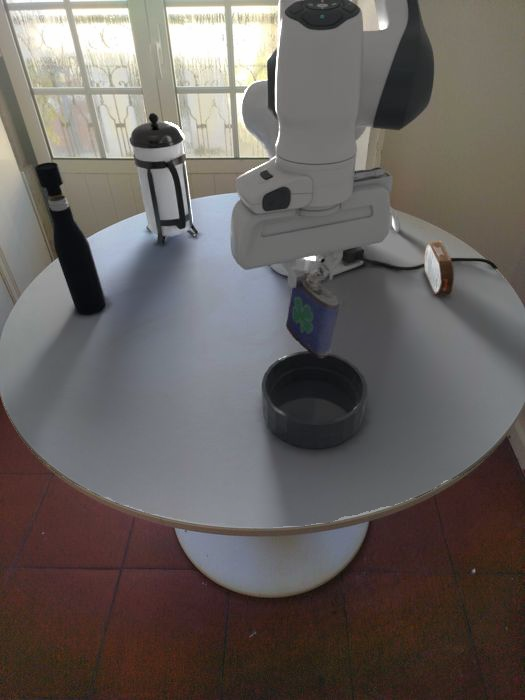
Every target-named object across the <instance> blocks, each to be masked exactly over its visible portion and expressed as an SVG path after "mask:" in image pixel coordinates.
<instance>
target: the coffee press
mask: <svg viewBox="0 0 525 700" xmlns="http://www.w3.org/2000/svg"><path fill="white" fill-rule="evenodd" d="M159 118H160V117H159V115H158V114H157V113H156V112H151V113H150V114H149V115H148V120H149V121H148V122H145V123H141V124H139V125H138V126H136V127H134V129H132V131H131V133H130V137H129V144H130V145H131V146H132V151H133V160H134V165H136V171H137V175H138V180H139V186H140V187H139V188H140V191H141V197H142V201H143V207H144V212H145V216H146V222H147V226H146V230H147V231H148V232H151V233H153V234H154V235H156V236H157V238H156V243H157V245H165V241H166V239H167V237H176V236H180V235H183V234H185V233H188V234H189V235H190V236H191V237H193V238H195V237H196V236H198V234H199V231H198V229H197V228H196V227H195V225H194V217H193V210H192V209H193V208H192V200H191V194H190V186H189V178H188V171H187V162H186V161H187V160H186V159H187V155H186V150H185V149H184V148H185V147H184V140H185V135H184V133H183V132H182V130H181V129H180V127H179V126H178V125H176V124H174V123H172V122H168V121H159Z"/></svg>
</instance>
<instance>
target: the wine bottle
mask: <svg viewBox="0 0 525 700" xmlns="http://www.w3.org/2000/svg"><path fill="white" fill-rule="evenodd" d="M34 170H35V172H36V176H37V179H38V181H39V185H40V187H41V188H43V189H45V190H46V193H47V197H48V198H47V200H48V202H47V204H48V206H49V214H50V216H51V219H52V222H53V245H54V251H55V254H56V256H57V259H58V262H59V265H60V269H61V271H62V274H63V276H64V280H65V282H66V285H67V288H68V291H69V294H70V297H71V300H72V302H73V305H74V308H75V311H76V312H77V313H78V314H80V315H84V316H90V315H95V314H98V313H100V312H102V311H103V310H104V309H105V308H106V306H107V300H106V297H105V293H104V289H103V286H102V283H101V280H100V277H99V273H98V270H97V265H96V263H95V259H94V256H93V253H92V249H91V246H90V242H89V241H88V239H87V236H86V235H85V233H84V230H83V229H82V228H81V227H80V225H79V224H78V222H77V221H76V219H75V217H74V213H73V211H72V207H71V206H70V205H69V202H68V199H67V198H66V196H65V195H64V192H63V190H62V185H63V184H64V180H63V176H62V173H61V169H60V167H59V164H58V163H57V162H43V163H39V164H37V165H35V168H34Z"/></svg>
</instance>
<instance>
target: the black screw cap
mask: <svg viewBox="0 0 525 700" xmlns="http://www.w3.org/2000/svg"><path fill="white" fill-rule="evenodd" d="M367 396H368V385H367V381H366V379H365V376H364V374H363V373H362V372H361V371H360V369H359V368H358V367H357V366H356V365H354V364H353V363H352V362H351V361H349V360H348V359H346V358H345V357H344V358H343V357H342V356H339V355H337V354H334V353H330V352H329V355H328V356H326V357H325V356H324V358H318V357H316V356H315V355H313V354H311V353H310V352H309V351H308V350H304V351H297V352H293V353H290V354H287V355H284V356H283V357H280V358H279V359H277V360H275V361H274V362H273V363H272V364H271V365H270V366H269V367H268V368H267V370H266V371H265V373H264V374H263V377H262V380H261V400H262V402H261V403H262V404H261V406H262V415H263V419H264V421H265V423H266V425H267V427H268V428H269V429H270V430H271V431H272V433H274V434H275V436H277V437H279V438H280V439H281V440H283V441H285V442H286V443H289V444H291V445H294V446H297V447H300V448H307V449H323V448H331V447H334V446H337V445H340V444H342V443H344V442H346V441H347V440H348V439H350V438H352V437H353V436H354V435H355V434H356V433H357V431H358V430H359V429H360V428H361V426H362V422H363V420H364V415H365V410H366V409H365V408H366V403H367Z"/></svg>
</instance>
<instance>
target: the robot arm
mask: <svg viewBox="0 0 525 700" xmlns="http://www.w3.org/2000/svg"><path fill="white" fill-rule="evenodd" d="M373 1H374V7H375V11H376V18H377V22H378V28H379V30H364V17H363V11H362V9H361V8H360V6H358V4H356V3H355V2H353V1H352V0H278V22H277V23H278V24H277V26H278V27H277V35H278V43H277V46H276V48H275V49H274V50H273V51H272V53H271V54H270V55H269V56H268V58H267V60H266V75H267V77H266V78H267V79H262V80H261V79H260V80H255V81H253V82H251V83H250V84H249V85H248V86H247V88H246V89H245V90H244V93H243V94H242V98H241V102H240V116H241V119H242V123H243V125H244V127H245V129H246V130H247V131H248V132H249V134H251V135H252V136H253V137H254V138H255V139H256V140H257V141H258V142H259V144H260V145H261V146H262V148H263V150H264V151H265V153H266V154H267V156H268V159H269V160H268V161H266V162H264V163H262V164H260V165H259V166H256V167H255V168H252V169H251V170H248V171H247V172H245V173H243V174H241V175H239V176H238V177H237V178H236V180H235V183H234V184H235V191H236V194H237V195H238V197H239V199H238V200H237V201H236V203H235V204H234V206H233V209H232V210H231V211H232V212H231V217H230V235H229V237H230V253H231V256H232V257H233V259H234V261H235V262H236V264H237V265H238V266H239V267H240V268H242V269H243V270H245V271H248V270H254V269H257V268H262V267H268V266H270V267H271V269H272V270H273V271H274V272H276V273H278V274H280V275H282V276H285V277H287V283H288V286H289V287H290V289H292V288H296V287H301V286H303V282H302V281H303V275H302V274H301V273H300V271H299V270H305V271H308V272H310V273H311V274H312V276H313V273H314V274H317V276H318V277H321V275H323V277H324V280H322V281H321V283H322V282H327V281H328V282H329V281H332V280H333V278H334V276H335V275H338V274H339V275H340V274H341V273H343V272H347V271H350V270H352V269H355V268H358V267H360V266H362V265H364V263H366V264H373V265H378V266H382V267H385V268H388V269H389V268H390V269H392V270H393V269H394V270H398V271H415V270H419V269H422V268H424V263H421V264H418V265H415V266H413V265H412V266H401V265H400V266H398V265H394V264H390V263H387V262H383V261H379V260H373V259H368V258H365V257H364V256H365V248H364V247H365V246H366V247H367V246H369V245H370V246H371V245H374V244H380V243H382V242H384V240H385V239H386V238H387V236H388V235H389V233H390V225H391V215H390V207H391V195H392V189H393V183H394V178H393V176H392V174H391V172H390V171H388V170H387V169H384V167H380V166H377V167H372V168H369V169H358V170H356V161H357V152H358V151H357V150H358V145H357V140H359V139H360V138H361V137H362V135H363V134H364V132H365V131H366V129H367V127H368V128H372V129H381V130H391V131H400V130H403V129H404V128H405V127H407V126H408V125H409V124H410V123H412V122H413V121H414V120H416V119H417V118H418V117H419V116H420V115H421V114H422V113H423V112H424V111H425V110H426V109H427V107H428V106H429V104H430V101H431V97H432V94H433V89H434V84H435V77H436V76H435V75H436V71H435V70H436V68H435V67H436V66H435V57H434V56H435V55H434V49H433V47H432V43H431V40H430V38H429V36H428V33H427V31H426V28H425V25H424V21H423V18H422V13H421V8H420V3H419V0H373ZM450 258H451V260H452V262H480V263H485V264H487V265H489V266H491V268H493V269H495V270H497V269H498V267H497V265H496V264H495V263H494V262H493V261H491V260H489V259H486V258H480V257H450Z"/></svg>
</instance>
